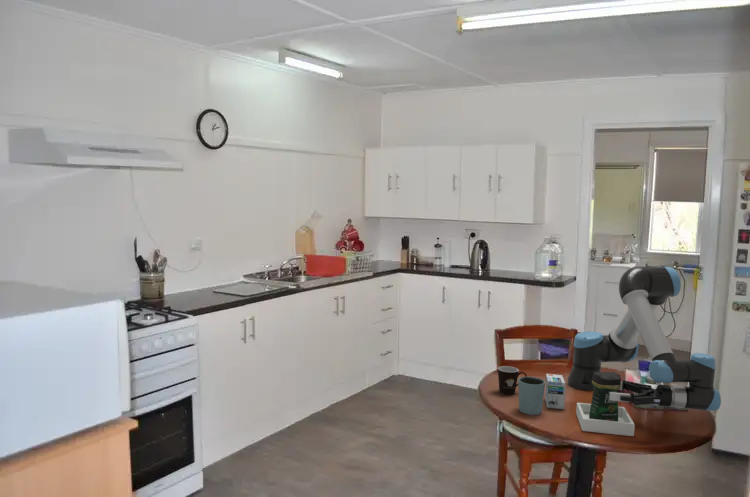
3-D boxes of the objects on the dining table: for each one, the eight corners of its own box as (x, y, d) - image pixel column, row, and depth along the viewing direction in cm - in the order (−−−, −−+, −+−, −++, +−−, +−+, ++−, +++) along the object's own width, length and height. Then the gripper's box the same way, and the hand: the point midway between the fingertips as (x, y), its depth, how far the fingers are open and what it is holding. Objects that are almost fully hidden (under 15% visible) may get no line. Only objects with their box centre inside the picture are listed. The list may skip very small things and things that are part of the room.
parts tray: (576, 413, 221) (576, 402, 221) (623, 418, 218) (624, 407, 217) (582, 430, 205) (583, 419, 204) (633, 436, 201) (634, 424, 201)
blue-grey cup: (527, 416, 216) (529, 385, 215) (511, 407, 226) (512, 377, 225) (549, 413, 221) (551, 382, 219) (532, 404, 230) (533, 375, 229)
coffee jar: (596, 426, 207) (600, 376, 205) (585, 418, 214) (588, 369, 213) (622, 426, 208) (625, 375, 206) (610, 417, 216) (613, 368, 214)
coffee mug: (494, 394, 241) (496, 370, 240) (498, 387, 249) (499, 365, 248) (523, 398, 237) (524, 374, 236) (526, 392, 245) (527, 368, 244)
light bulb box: (564, 409, 225) (566, 382, 224) (546, 408, 226) (548, 381, 225) (561, 400, 236) (563, 374, 235) (544, 398, 237) (545, 373, 236)
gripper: (679, 419, 193) (612, 412, 198) (660, 394, 218) (600, 389, 222) (681, 397, 193) (613, 390, 197) (661, 375, 217) (601, 370, 222)
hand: (606, 390), depth 210 cm, fingers open, 13 cm apart
